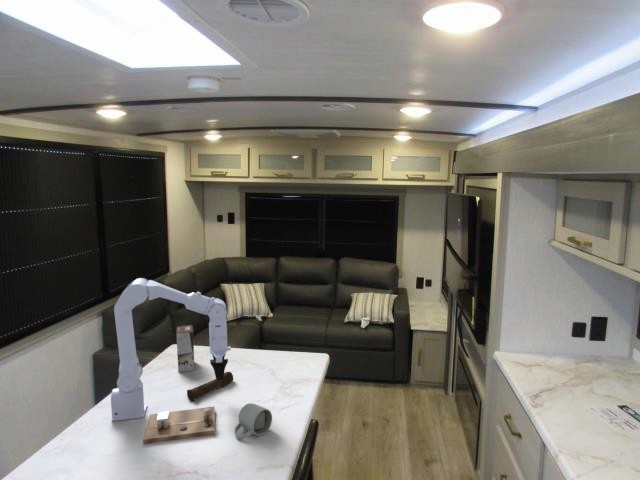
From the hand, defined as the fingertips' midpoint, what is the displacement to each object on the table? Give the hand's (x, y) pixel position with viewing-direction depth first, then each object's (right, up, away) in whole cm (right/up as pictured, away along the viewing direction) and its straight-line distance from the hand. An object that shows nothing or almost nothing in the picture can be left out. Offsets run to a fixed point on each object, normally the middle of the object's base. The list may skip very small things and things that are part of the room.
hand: (219, 374), depth 146 cm
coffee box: (-21, -6, +30) cm, 37 cm away
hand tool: (-5, -9, +10) cm, 15 cm away
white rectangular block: (-13, -11, -15) cm, 23 cm away
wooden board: (-9, -12, -13) cm, 20 cm away
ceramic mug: (+13, -13, -16) cm, 24 cm away
